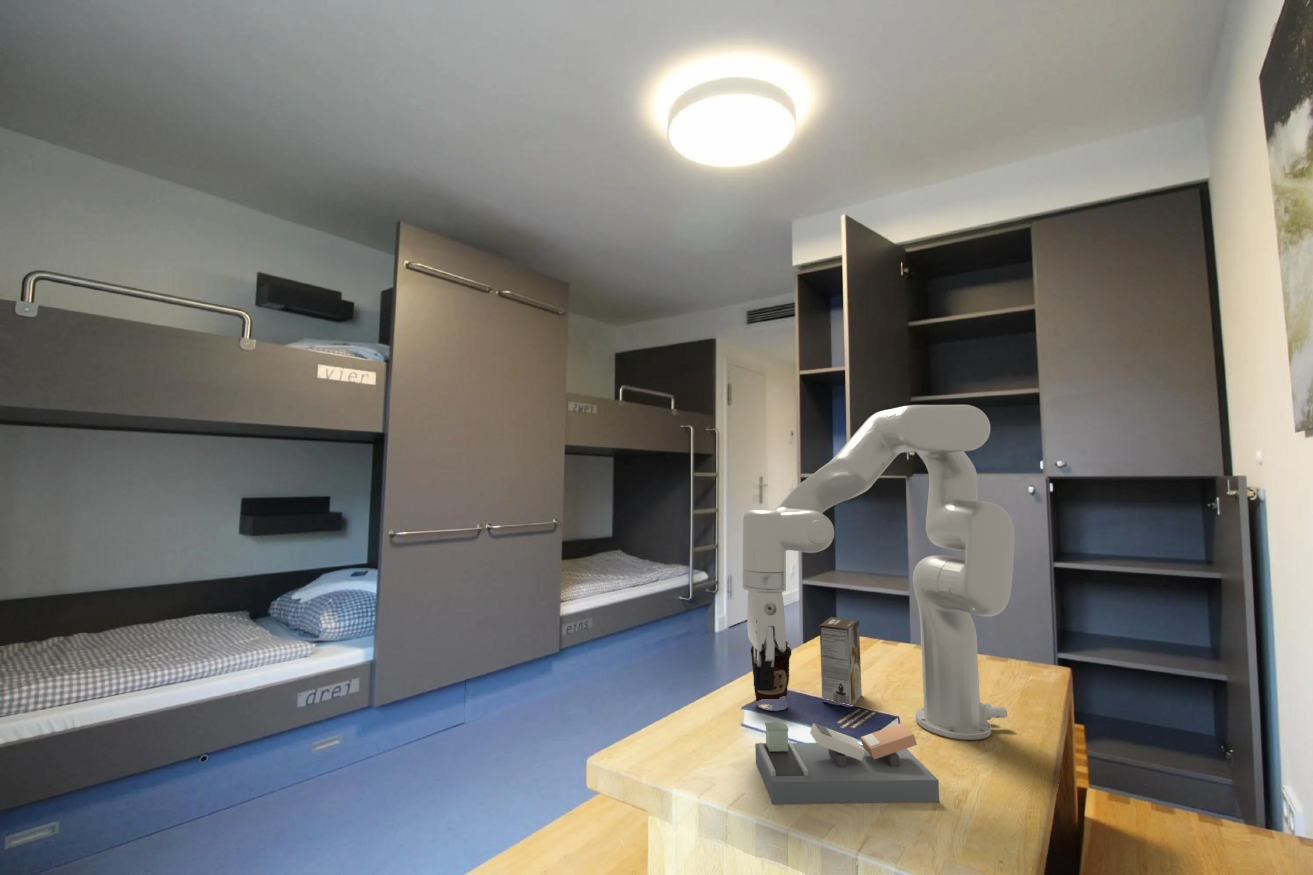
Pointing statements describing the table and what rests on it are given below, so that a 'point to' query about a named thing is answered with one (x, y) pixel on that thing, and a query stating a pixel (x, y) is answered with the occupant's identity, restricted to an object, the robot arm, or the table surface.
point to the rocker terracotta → (888, 741)
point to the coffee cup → (776, 675)
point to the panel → (843, 776)
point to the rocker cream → (837, 741)
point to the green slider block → (776, 736)
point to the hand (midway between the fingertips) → (763, 688)
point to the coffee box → (840, 660)
